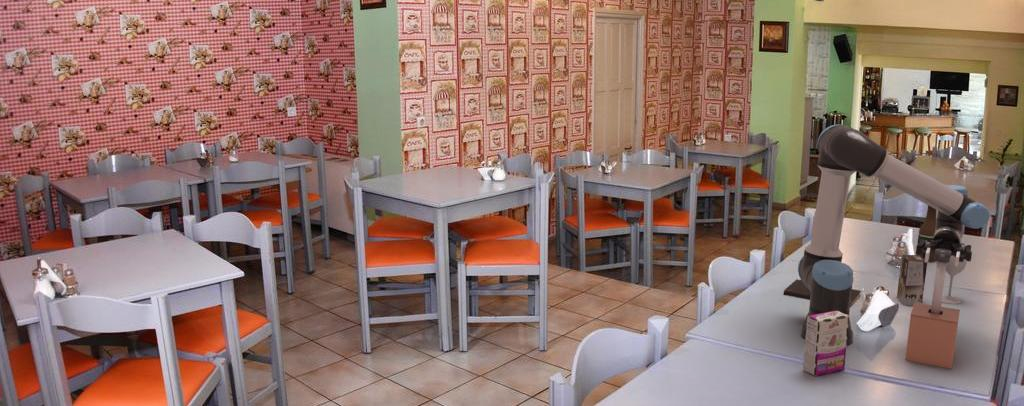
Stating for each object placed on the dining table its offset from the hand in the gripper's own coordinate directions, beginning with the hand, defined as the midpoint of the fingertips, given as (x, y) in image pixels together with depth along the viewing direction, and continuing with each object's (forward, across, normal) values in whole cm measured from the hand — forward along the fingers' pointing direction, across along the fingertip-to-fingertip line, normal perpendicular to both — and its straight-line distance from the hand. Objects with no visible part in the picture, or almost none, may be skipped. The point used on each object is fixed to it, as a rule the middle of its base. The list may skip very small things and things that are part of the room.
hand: (941, 259), depth 225 cm
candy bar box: (+22, +25, -31) cm, 45 cm away
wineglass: (-65, -2, -31) cm, 72 cm away
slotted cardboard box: (-5, 0, -31) cm, 31 cm away
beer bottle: (-118, +9, -31) cm, 123 cm away
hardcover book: (-47, +38, -32) cm, 68 cm away
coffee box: (-56, +10, -31) cm, 65 cm away
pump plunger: (-3, 0, -20) cm, 20 cm away
